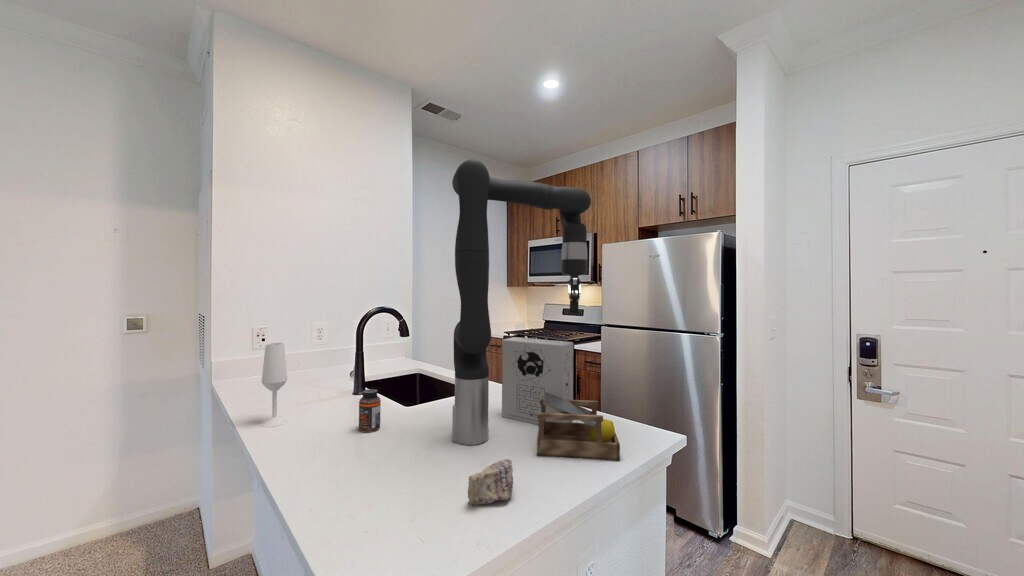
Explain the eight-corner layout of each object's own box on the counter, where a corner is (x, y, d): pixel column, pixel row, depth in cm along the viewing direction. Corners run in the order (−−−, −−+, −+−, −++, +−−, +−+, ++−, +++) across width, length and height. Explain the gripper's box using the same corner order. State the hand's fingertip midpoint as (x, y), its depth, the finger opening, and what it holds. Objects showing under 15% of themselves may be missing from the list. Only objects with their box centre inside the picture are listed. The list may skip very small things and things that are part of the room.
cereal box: (573, 423, 122) (573, 342, 122) (562, 430, 115) (563, 345, 115) (513, 410, 133) (514, 336, 133) (501, 417, 127) (501, 339, 127)
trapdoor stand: (536, 456, 98) (537, 414, 98) (539, 435, 112) (540, 398, 112) (619, 461, 95) (620, 418, 95) (612, 438, 109) (612, 401, 109)
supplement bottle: (354, 431, 114) (354, 392, 114) (368, 424, 119) (369, 387, 119) (370, 434, 111) (370, 394, 111) (384, 427, 117) (384, 389, 117)
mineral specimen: (493, 518, 72) (493, 484, 72) (462, 506, 75) (462, 474, 75) (526, 487, 83) (526, 458, 83) (497, 479, 86) (498, 450, 86)
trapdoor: (541, 408, 99) (544, 402, 99) (543, 397, 110) (545, 391, 110) (594, 431, 98) (596, 425, 98) (590, 417, 108) (593, 411, 108)
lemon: (599, 446, 105) (620, 425, 103) (598, 455, 99) (620, 433, 98) (583, 430, 105) (604, 410, 104) (582, 439, 100) (603, 417, 99)
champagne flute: (288, 424, 119) (288, 344, 119) (261, 428, 115) (262, 346, 115) (286, 417, 125) (286, 341, 125) (260, 421, 121) (261, 343, 121)
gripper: (588, 256, 109) (588, 315, 109) (585, 260, 123) (585, 312, 123) (561, 256, 110) (561, 315, 110) (561, 260, 124) (561, 311, 124)
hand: (573, 313), depth 117 cm, fingers open, 8 cm apart
